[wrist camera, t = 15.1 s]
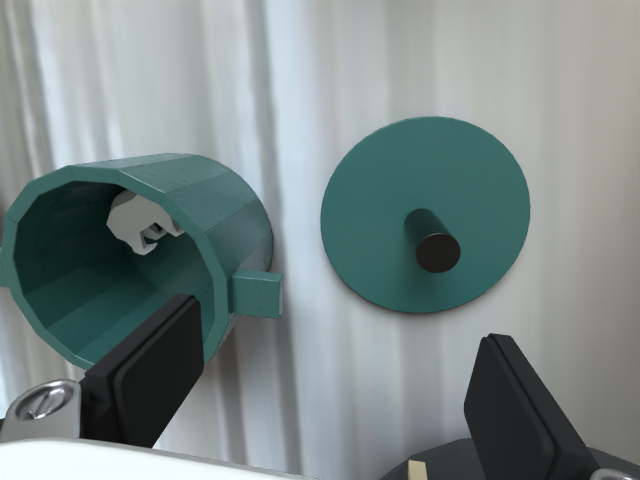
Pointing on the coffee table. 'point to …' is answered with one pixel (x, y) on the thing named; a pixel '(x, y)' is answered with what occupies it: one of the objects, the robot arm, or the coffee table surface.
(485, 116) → the coffee table surface
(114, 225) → the figurine
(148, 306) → the pot
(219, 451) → the coffee table surface
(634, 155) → the coffee table surface
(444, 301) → the lid
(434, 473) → the bowl
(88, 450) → the robot arm
